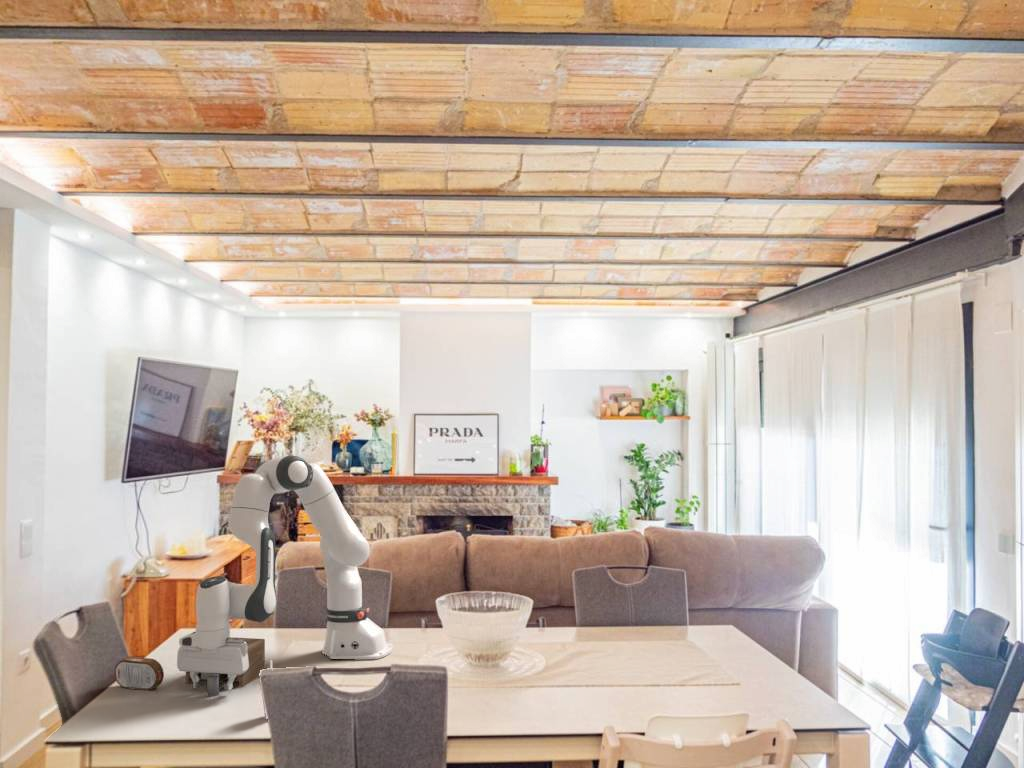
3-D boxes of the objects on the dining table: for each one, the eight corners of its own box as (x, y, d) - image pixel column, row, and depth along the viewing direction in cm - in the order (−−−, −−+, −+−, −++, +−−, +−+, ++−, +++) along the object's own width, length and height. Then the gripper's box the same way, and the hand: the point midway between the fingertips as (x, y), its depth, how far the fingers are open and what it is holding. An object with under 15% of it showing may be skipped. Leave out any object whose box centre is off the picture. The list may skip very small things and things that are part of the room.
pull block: (254, 674, 231) (254, 657, 231) (218, 696, 213) (218, 678, 213) (238, 673, 232) (239, 656, 232) (201, 695, 214) (201, 677, 214)
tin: (164, 688, 220) (164, 658, 221) (156, 692, 217) (156, 661, 218) (120, 684, 224) (120, 654, 225) (112, 688, 221) (112, 658, 222)
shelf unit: (264, 672, 232) (264, 639, 233) (242, 686, 221) (242, 650, 221) (210, 669, 236) (210, 636, 237) (185, 683, 224) (185, 647, 225)
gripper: (253, 636, 216) (253, 686, 216) (187, 632, 221) (187, 682, 220) (240, 642, 210) (240, 694, 210) (173, 639, 214) (173, 690, 214)
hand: (213, 688), depth 215 cm, fingers open, 8 cm apart
